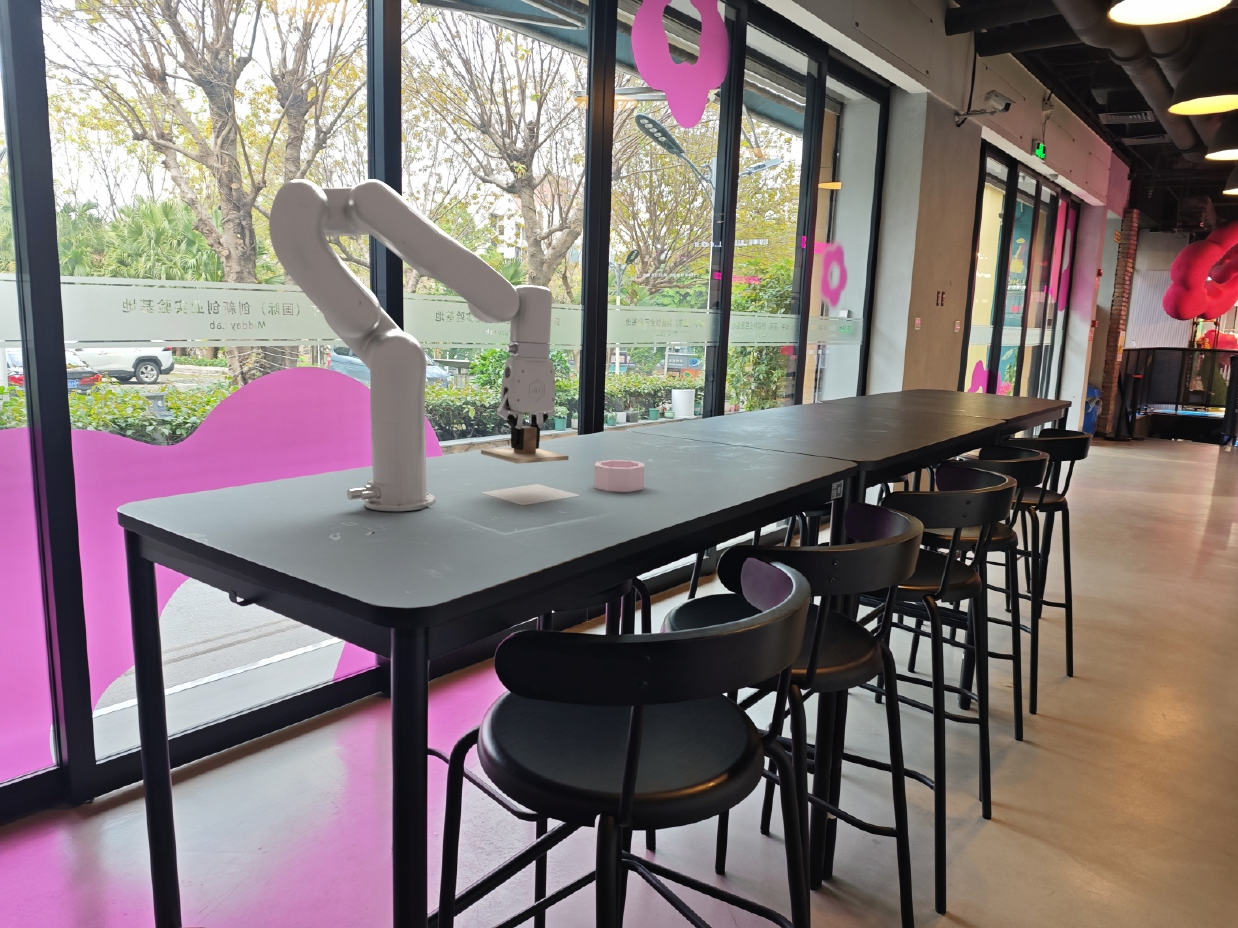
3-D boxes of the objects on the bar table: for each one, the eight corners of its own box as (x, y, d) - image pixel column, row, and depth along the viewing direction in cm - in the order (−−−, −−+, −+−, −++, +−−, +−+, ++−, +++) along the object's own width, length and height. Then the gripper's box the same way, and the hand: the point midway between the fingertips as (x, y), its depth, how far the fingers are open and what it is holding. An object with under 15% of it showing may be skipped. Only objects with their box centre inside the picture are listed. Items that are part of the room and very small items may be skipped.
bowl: (617, 495, 165) (618, 470, 164) (584, 487, 172) (585, 463, 171) (653, 489, 172) (654, 465, 171) (620, 481, 179) (621, 458, 178)
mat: (522, 507, 153) (522, 505, 153) (479, 494, 163) (479, 492, 163) (580, 497, 163) (581, 495, 163) (537, 485, 173) (537, 483, 173)
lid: (517, 463, 153) (519, 432, 152) (480, 453, 161) (482, 424, 160) (568, 459, 161) (569, 430, 160) (530, 450, 170) (532, 422, 169)
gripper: (505, 352, 150) (501, 453, 153) (575, 354, 161) (570, 449, 164) (481, 349, 155) (478, 447, 158) (551, 352, 166) (546, 443, 169)
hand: (525, 447), depth 161 cm, fingers closed on lid, 3 cm apart
